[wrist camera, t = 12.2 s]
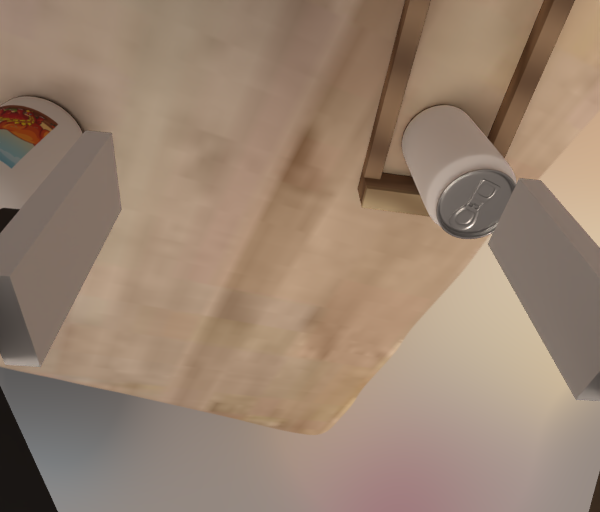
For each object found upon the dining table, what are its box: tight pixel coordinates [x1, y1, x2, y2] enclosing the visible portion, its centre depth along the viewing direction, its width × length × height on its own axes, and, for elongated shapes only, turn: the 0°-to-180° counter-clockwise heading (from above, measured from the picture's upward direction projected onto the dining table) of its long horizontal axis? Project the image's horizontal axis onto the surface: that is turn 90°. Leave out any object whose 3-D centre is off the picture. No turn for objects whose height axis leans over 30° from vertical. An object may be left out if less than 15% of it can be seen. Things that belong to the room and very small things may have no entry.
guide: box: [358, 0, 575, 216], centre depth 37 cm, size 24×12×4 cm, turn 171°
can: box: [402, 105, 516, 239], centre depth 37 cm, size 6×6×12 cm
